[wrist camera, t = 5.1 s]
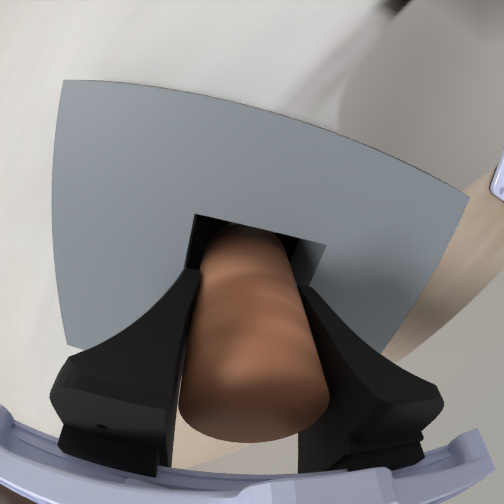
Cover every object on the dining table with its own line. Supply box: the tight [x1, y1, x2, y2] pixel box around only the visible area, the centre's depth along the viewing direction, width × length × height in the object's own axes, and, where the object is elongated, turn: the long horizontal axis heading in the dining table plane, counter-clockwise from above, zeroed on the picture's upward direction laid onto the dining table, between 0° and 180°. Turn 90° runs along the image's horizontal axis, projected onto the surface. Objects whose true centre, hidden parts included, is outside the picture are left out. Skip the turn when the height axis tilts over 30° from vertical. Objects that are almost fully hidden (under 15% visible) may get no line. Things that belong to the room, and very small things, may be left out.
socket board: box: [52, 80, 470, 373], centre depth 14 cm, size 18×14×4 cm
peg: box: [178, 224, 330, 443], centre depth 11 cm, size 4×4×8 cm
